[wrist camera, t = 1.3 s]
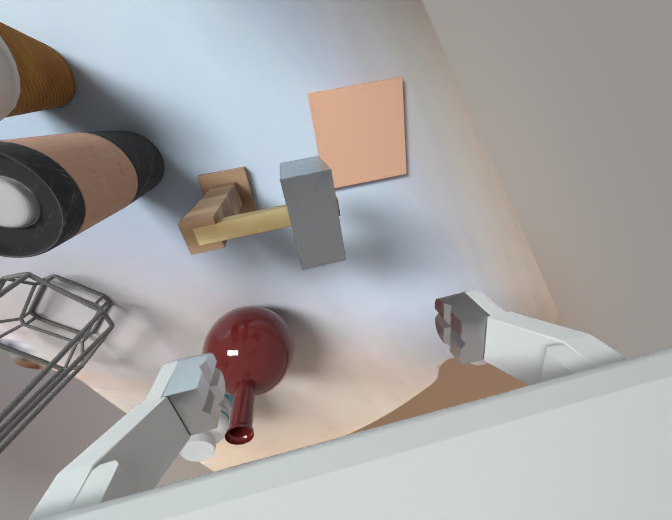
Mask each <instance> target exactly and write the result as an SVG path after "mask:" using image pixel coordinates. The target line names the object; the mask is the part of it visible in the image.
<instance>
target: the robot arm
mask: <svg viewBox="0 0 672 520" xmlns="http://www.w3.org/2000/svg"><path fill="white" fill-rule="evenodd" d="M435 309H436V310H437V311H438V312H439V313H438V315H437V316H436V318H435V323H436V329H437V332H438V334H439V336H440V338H441V340H442V341H443V342H444V343H445V344H448V345H450V352H451V353H452V354H453V356H454V357H455V358H456V360H457V361H458V362H459V363H460V364H466V363H470V362H475V361H479V360H483V359H484V361H486V362H488V363H489V364H491V365H493V366H495V367H497V368H499V369H500V370H502V371H504V372H506V373H508V374H510V375H511V376H513V377H515V378H517V379H519V380H520V381H522V382H524V383H526V384H528V385H529V386H526V387H523V388H519V389H516V390H512V391H508V392H505V393H501V394H497V395H494V396H490V397H487V398H483V399H479V400H475V401H472V402H468V403H465V404H461V405H457V406H453V407H450V408H446V409H442V410H439V411H435V412H431V413H428V414H424V415H420V416H417V417H413V418H409V419H406V420H402V421H398V422H395V423H391V424H387V425H384V426H380V427H376V428H372V429H369V430H365V431H362V432H358V433H354V434H351V435H347V436H343V437H340V438H336V439H332V440H329V441H325V442H321V443H318V444H314V445H310V446H307V447H303V448H299V449H296V450H292V451H288V452H285V453H281V454H277V455H274V456H270V457H266V458H263V459H259V460H255V461H252V462H248V463H244V464H241V465H237V466H233V467H230V468H226V469H222V470H219V471H215V472H211V473H208V474H204V475H200V476H197V477H193V478H190V479H186V480H182V481H179V482H175V483H172V484H168V485H164V486H160V487H157V488H154V487H155V486H156V485H157V483H158V482H159V480H160V479H161V477H162V476H163V475H164V473H165V472H166V471H167V469H168V468H169V467H170V465H171V464H172V462H173V461H174V460H175V458H176V457H177V455H178V454H179V453H180V451H181V450H182V449H183V447H184V446H185V445H186V443H187V442H188V440H189V439H190V438H191V437H190V436H192V435H196V434H199V433H202V432H206V431H209V430H213V429H216V428H217V427H218V423H219V418H220V414H221V408H220V406H219V404H220V402H221V401H222V400H223V399H224V395H225V381H224V376H223V374H222V372H221V370H219V369H217V368H215V366H216V362H217V361H216V359H215V357H214V355H213V354H212V353H206V354H202V355H197V356H193V357H188V358H183V359H180V360H175V361H171V362H167V363H165V364H164V365H163V366H162V368H161V370H160V372H159V374H158V375H157V377H156V379H155V381H154V383H153V385H152V387H151V389H150V391H149V393H148V395H147V397H146V399H145V401H144V402H142V403H139V404H138V405H137V406H135V407H134V408H133V409H132V410H131V411H130V412H128V413H127V414H126V415H125V416H124V417H123V418H122V419H120V420H119V421H118V422H117V423H116V424H115V425H114V426H113V427H111V428H110V429H109V430H108V431H107V432H106V433H104V434H103V435H102V436H101V437H100V438H99V439H97V440H96V441H95V442H94V443H93V444H92V445H91V446H89V447H88V448H87V449H86V450H85V451H84V452H83V453H81V454H80V455H79V456H78V457H77V458H76V459H74V460H73V461H72V462H71V463H70V464H69V465H68V466H66V467H65V468H64V469H63V470H62V471H61V472H60V473H58V475H57V476H56V478H55V479H54V481H53V482H52V484H51V485H50V487H49V488H48V490H47V491H46V493H45V495H44V496H43V498H42V499H41V501H40V502H39V504H38V505H37V507H36V508H35V510H34V511H33V513H32V514H31V516H30V518H29V519H28V520H672V347H669V348H666V349H662V350H658V351H655V352H651V353H647V354H644V355H640V356H636V357H633V358H629V359H626V358H625V357H623V356H622V355H620V354H619V353H617V352H616V351H614V350H613V349H611V348H610V347H609V346H607V345H606V344H604V343H603V342H601V341H600V340H598V339H597V338H595V337H594V336H592V335H590V334H587V333H583V332H580V331H576V330H573V329H569V328H566V327H563V326H559V325H556V324H552V323H549V322H545V321H542V320H538V319H535V318H531V317H528V316H525V315H521V314H518V313H514V312H511V311H509V312H505V311H504V310H503V309H501V308H500V307H499V306H498V305H496V304H495V303H494V302H493V301H491V300H490V299H489V298H488V297H486V296H485V295H484V294H483V293H482V292H480V291H479V290H477V289H472V290H468V291H464V292H462V293H458V294H454V295H450V296H446V297H442V298H438V299H436V301H435Z"/></svg>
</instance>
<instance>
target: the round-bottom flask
mask: <svg viewBox="0 0 672 520" xmlns="http://www.w3.org/2000/svg"><path fill="white" fill-rule="evenodd" d="M206 353H212V354H213V355H214V357H215V359H216V361H217V362H216V366H215V368H217V369H219V370H221V372H222V374H223V376H224V381H225V394H226V395H229V396H231V397H233V404H232V410H231V416H230V422H229V428H228V429H227V431H226V433H225V439H226V441H227V442H229V443H231V444H235V445H240V444H245V443H247V442H249V441H250V440H252V438H253V436H254V430H253V428H252V424H253V413H254V402H255V397H258V396H261V395H263V394H265V393H267V392H269V391H271V390H272V389H273V388H275V387H276V386H277V385H278V384H279V383H280V382H281V381H282V380H283V379H284V377H285V376H286V374H287V373H288V371H289V369H290V367H291V364H292V361H293V356H294V340H293V336H292V333H291V330H290V328H289V326H288V325H287V323H286V322H285V321H284V320H283V319H282V317H280V316H279V315H278V314H277V313H275V312H274V311H272V310H270V309H267V308H264V307H260V306H245V307H240V308H237V309H234V310H232V311H230V312H228V313H226V314H225V315H223V316H222V317H221V318H220V319H219V320H218V321H217V322H216V323H215V324H214V325H213V326H212V328H211V329H210V331H209V332H208V334H207V336H206V339H205V342H204V345H203V352H202V354H206Z"/></svg>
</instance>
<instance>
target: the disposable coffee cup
mask: <svg viewBox="0 0 672 520" xmlns="http://www.w3.org/2000/svg"><path fill="white" fill-rule="evenodd" d="M74 92H75V82H74V77H73V74H72V72H71V70H70V68H69V66H68V64H67V63H66V62H65V60H64V59H63V58H62V57H61V56H60V55H59V54H58V53H57V52H56V51H55V50H53V49H52V48H51V47H49V46H47V45H46V44H44V43H41V42H39V41H37V40H35V39H33V38H31V37H29V36H27V35H25V34H23V33H21V32H19V31H17V30H15V29H13V28H11V27H9V26H7V25H5V24H3V23H1V22H0V121H1V120H2V119H4V118H5V117H11V116H15V115H21V114H26V113H31V112H36V111H42V110H47V109H52V108H58V107H62V106H64V105H66V104H67V103H69V102H70V101H71V99H72V97H73V96H74Z"/></svg>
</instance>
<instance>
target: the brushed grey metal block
mask: <svg viewBox="0 0 672 520" xmlns="http://www.w3.org/2000/svg"><path fill="white" fill-rule="evenodd" d="M280 182H281V186H282V190H283V194H284V198H285V202H286V206H287V210H288V214H289V218H290V222H291V226H292V231H293V235H294V239H295V243H296V247H297V251H298V255H299V259H300V263H301V267H302V270H304V269H308V268H313V267H317V266H321V265H326V264H330V263H335V262H339V261H344V260H346V257H345V251H344V245H343V238H342V232H341V226H340V220H339V214H338V207H337V201H336V195H335V189H334V183H333V176H332V170H331V168H330V167H329V166H328V165H327V164H326V163H325V162H324V161H323V160H322V159H321V158H320V157H319V156H315V157H310V158H305V159H300V160H295V161H290V162H284V163H280Z"/></svg>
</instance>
